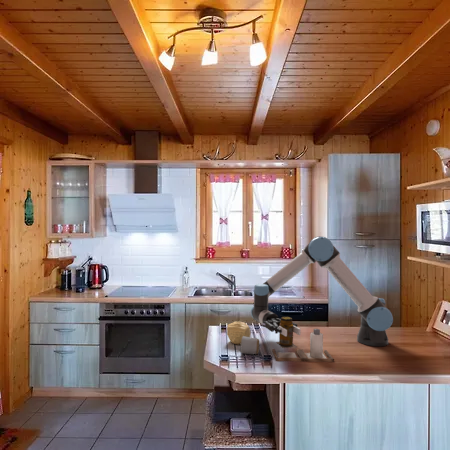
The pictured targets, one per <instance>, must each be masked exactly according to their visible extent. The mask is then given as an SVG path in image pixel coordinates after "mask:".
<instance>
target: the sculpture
mask: <svg viewBox="0 0 450 450" xmlns="http://www.w3.org/2000/svg"><path fill="white" fill-rule="evenodd" d="M251 334H252V331H251V329H250V327H249V325H248V324H247V323H246V322H244V321H243V322H242V321H233V322H232V323H228V324H227V326H226V335H227V336H228V339H229V341H230V342H231V343H232V344H234V345H240V346H241V340H242V337H243V336H245V337H251V336H252V335H251Z"/></svg>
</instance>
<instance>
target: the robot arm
mask: <svg viewBox="0 0 450 450" xmlns="http://www.w3.org/2000/svg"><path fill="white" fill-rule="evenodd" d="M340 256H341V253H340V251H339V250H338V249H337V248H336V247H335V245H334V244H333V242H332V241H331V240H330V239H329V238H327V237H326V236H315V237H313V238H312V239H311V240H310V241H309V243H308V244H307V245H306V246H305V247H304V248H302V249H301V252H300V253H299V254H298V255H296V256H295V257H294V258H293V259H292V260H290V261H289V262H288V263H287V264H285V265H284V266H282V267H281V268H280V270H278V271H277V272H276V273H274V274H273V275H272V276H271V277H269V278H268V279H267V280H266V281H265V282H263V283H258V284H257V283H256V284H254V289H253V306H252V308H251V310H250V316H251V318H252V319H253V320H254V321H256V322H258V323H260V324H261V325H262V327H264V328H266V329H267V330H269V332H272V333H273V332H274V334H279V333H281V334H282V335H284V336H287V330H286V329H284V328H283V327H281V326H280V323H281V322H280V321H281V318H280V317H279V315H277V313H274V312H272V311H271V310H269V298H270V296H271V295H273V294H274V293H275V292H277V291H278V290H279V289H280V288H281V287H283V286H284V285H286V284H287V283H288V282H289V281H291V280H292V279H293V278H294V277H296V276H297V275H298V274H299V273H300V272H302V271H303V270H304V269H306V268H307V267H308V266H309V265H310V264H315V263H317V265H319V266H320V268H324V269H326V270H327V271H328V272H329V274H330V275H331V276H332V278H334V280H335V281H336V282H337V284H339V286H340V288H341V289H343V291H345V293H346V294H347V295H348V297H350V299H351V300H352V301H353V303H354V304H355V305H356V306H357V312H358V313H359V314H360V327H359V329H358V333H357V337H356V341H357V342H358V343H360V344H363V345H365V346H369V347H387V346H388V345H389V338H388V334H387V330H388V329H390V328H391V326H392V325H393V322H394V317H393V314H392V312H391V310H390V309H388V308H387V306H386V300H385V299H384V298H382V297H381V298H380V297H378V296H374V295H372V294H371V292H370V291H369V290H368V289H367V288H366V287H365V285H363V283H362V282H361V281H360V280H359V278H357V276H356V275H355V273H353V272H352V270H351V269H350V268H349V267H348V265H347V264H346V263H345V261H343V260H342V258H341V257H340ZM292 324H293V334H296V335H298V336H301V335H302V333H301V332H302V331H301V328H300V327H298V323H295V322H293V321H292ZM386 345H387V346H386Z"/></svg>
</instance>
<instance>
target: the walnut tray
mask: <svg viewBox="0 0 450 450" xmlns="http://www.w3.org/2000/svg"><path fill="white" fill-rule="evenodd" d="M272 353H273V357H274V359H275V362H308V363H312V362H315V363H317V362H319V363H335V359H334V357H333V356H332V355H331V353H330V352H329V351H328V350H327V349H323V358H312V357H310V352H305V351H304V349H301V348H300V349H299V348H297V349H296V348H295V352H276V349H275V348H272ZM296 354H297V355H296ZM297 356H298V357H297Z"/></svg>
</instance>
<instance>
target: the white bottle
mask: <svg viewBox="0 0 450 450" xmlns="http://www.w3.org/2000/svg"><path fill="white" fill-rule="evenodd" d="M309 353H310V357H312V358H323V354H324V333H321V329H319V328H313V331H312V332H310V334H309Z"/></svg>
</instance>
